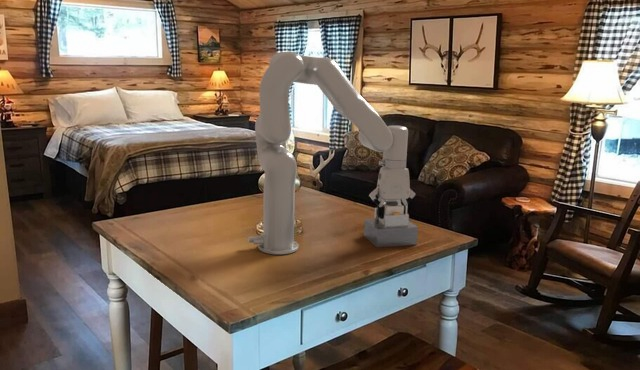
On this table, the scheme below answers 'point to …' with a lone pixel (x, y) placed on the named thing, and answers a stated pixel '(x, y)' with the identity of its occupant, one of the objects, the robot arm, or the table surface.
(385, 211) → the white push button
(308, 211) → the table surface
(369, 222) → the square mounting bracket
